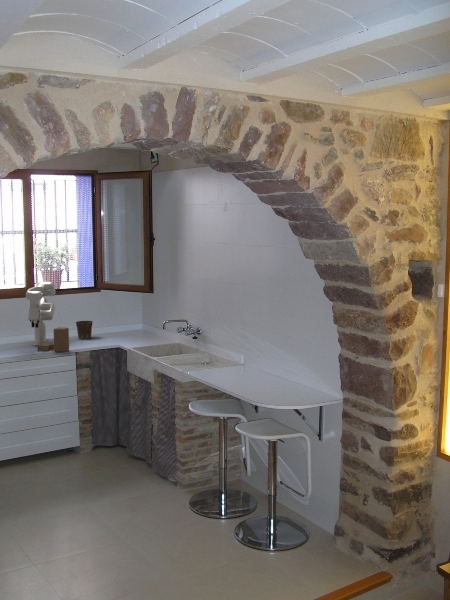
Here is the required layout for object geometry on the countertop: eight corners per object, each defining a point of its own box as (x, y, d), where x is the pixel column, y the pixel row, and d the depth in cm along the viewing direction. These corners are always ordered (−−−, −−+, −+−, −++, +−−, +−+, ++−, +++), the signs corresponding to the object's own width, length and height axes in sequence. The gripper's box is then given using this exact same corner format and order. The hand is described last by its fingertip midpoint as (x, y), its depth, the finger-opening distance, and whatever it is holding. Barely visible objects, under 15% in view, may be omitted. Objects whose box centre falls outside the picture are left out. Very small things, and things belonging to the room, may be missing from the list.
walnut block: (44, 348, 590) (44, 343, 590) (54, 349, 587) (54, 343, 587) (37, 350, 581) (37, 345, 580) (47, 351, 578) (47, 345, 577)
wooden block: (64, 352, 573) (63, 329, 570) (53, 351, 575) (53, 328, 572) (69, 350, 582) (69, 327, 580) (58, 349, 584) (58, 327, 582)
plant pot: (72, 338, 641) (72, 321, 639) (86, 336, 653) (85, 320, 651) (82, 340, 631) (82, 323, 629) (96, 338, 643) (96, 321, 641)
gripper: (44, 306, 584) (45, 327, 586) (29, 305, 590) (29, 326, 592) (39, 307, 577) (40, 328, 579) (23, 306, 583) (24, 327, 585)
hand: (35, 327), depth 586 cm, fingers open, 3 cm apart
